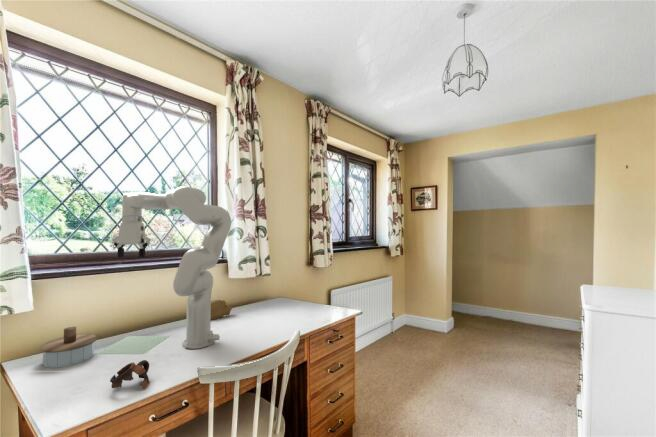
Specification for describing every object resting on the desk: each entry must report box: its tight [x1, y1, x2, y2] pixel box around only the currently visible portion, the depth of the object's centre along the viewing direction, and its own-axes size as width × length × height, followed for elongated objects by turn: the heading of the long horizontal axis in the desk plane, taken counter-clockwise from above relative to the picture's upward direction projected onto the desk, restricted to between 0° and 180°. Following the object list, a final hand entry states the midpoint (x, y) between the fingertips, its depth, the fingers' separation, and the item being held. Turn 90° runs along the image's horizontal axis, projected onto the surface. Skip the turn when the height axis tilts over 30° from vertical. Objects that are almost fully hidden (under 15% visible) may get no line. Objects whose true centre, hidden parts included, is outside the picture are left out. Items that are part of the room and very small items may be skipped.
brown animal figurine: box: [109, 359, 151, 390], centre depth 95 cm, size 12×10×8 cm
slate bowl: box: [42, 342, 95, 369], centre depth 113 cm, size 14×14×6 cm
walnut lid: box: [40, 326, 98, 353], centre depth 113 cm, size 16×16×6 cm
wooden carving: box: [211, 299, 233, 320], centre depth 165 cm, size 16×5×10 cm, turn 133°
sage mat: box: [95, 335, 170, 355], centre depth 127 cm, size 19×19×1 cm
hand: (131, 257), depth 138 cm, fingers open, 9 cm apart
